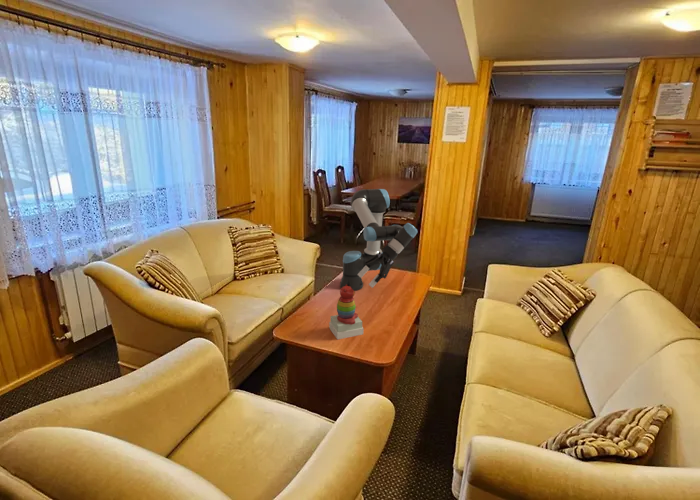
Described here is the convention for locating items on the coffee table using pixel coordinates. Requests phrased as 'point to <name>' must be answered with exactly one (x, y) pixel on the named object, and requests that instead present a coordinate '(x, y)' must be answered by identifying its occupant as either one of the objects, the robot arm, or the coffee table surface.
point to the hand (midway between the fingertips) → (364, 281)
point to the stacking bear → (346, 306)
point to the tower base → (346, 333)
